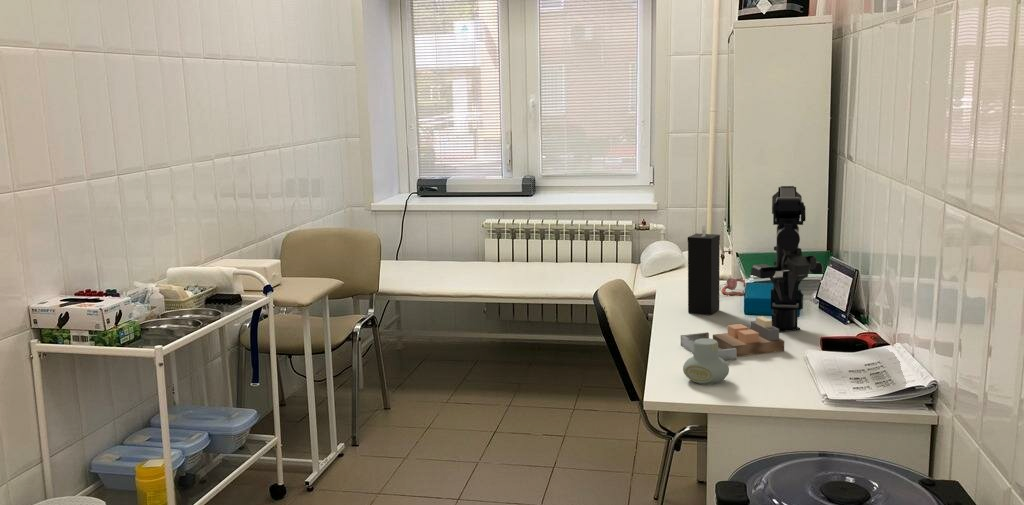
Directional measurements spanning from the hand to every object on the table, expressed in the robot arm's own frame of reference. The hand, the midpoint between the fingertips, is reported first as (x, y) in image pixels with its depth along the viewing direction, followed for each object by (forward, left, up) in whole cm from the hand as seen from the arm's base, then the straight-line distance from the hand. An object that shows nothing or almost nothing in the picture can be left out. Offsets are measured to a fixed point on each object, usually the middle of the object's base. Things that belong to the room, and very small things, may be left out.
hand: (786, 299), depth 234 cm
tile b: (+13, +3, -10) cm, 16 cm away
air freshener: (+34, +21, -13) cm, 42 cm away
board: (+11, 0, -12) cm, 17 cm away
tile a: (+13, -3, -10) cm, 16 cm away
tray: (+23, 0, -12) cm, 27 cm away
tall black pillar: (+5, -41, -13) cm, 43 cm away
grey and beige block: (+6, 0, -10) cm, 12 cm away
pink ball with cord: (-10, -60, -13) cm, 62 cm away
